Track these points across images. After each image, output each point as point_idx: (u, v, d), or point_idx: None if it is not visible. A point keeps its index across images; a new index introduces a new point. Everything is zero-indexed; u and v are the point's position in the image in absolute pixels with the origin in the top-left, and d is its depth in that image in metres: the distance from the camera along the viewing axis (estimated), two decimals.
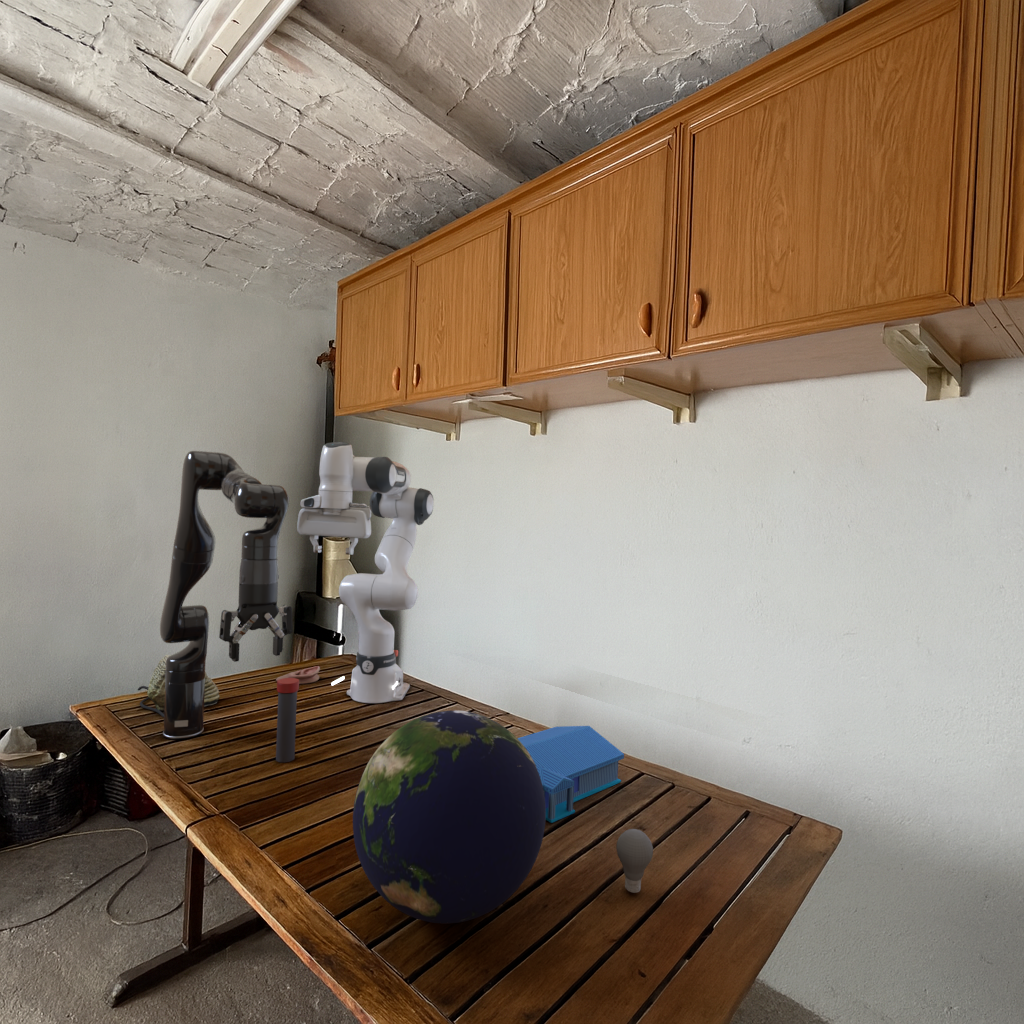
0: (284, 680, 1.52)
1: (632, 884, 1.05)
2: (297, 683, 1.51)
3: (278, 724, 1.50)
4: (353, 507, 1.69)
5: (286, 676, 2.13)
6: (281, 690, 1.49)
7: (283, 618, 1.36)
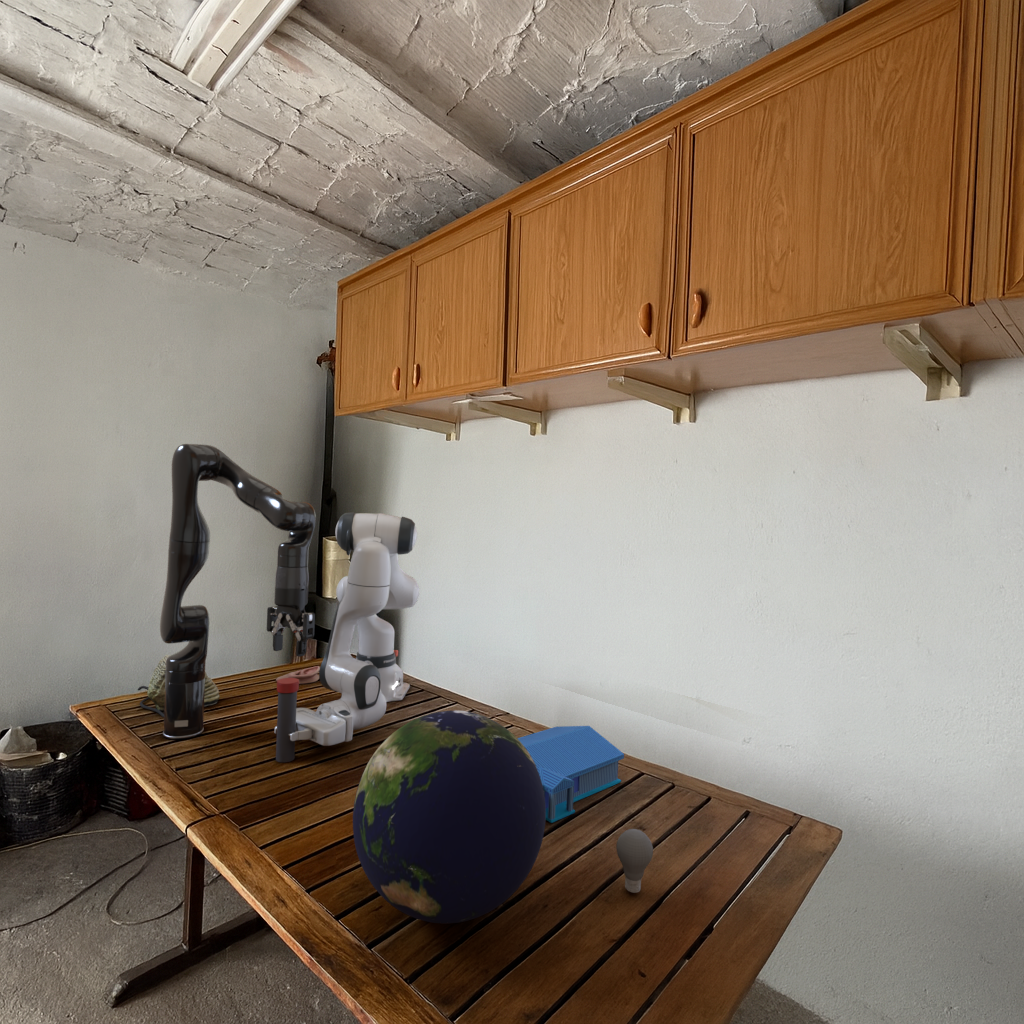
0: (284, 680, 1.52)
1: (632, 884, 1.05)
2: (297, 683, 1.51)
3: (278, 724, 1.50)
4: None
5: (286, 676, 2.13)
6: (281, 690, 1.49)
7: (272, 618, 1.54)
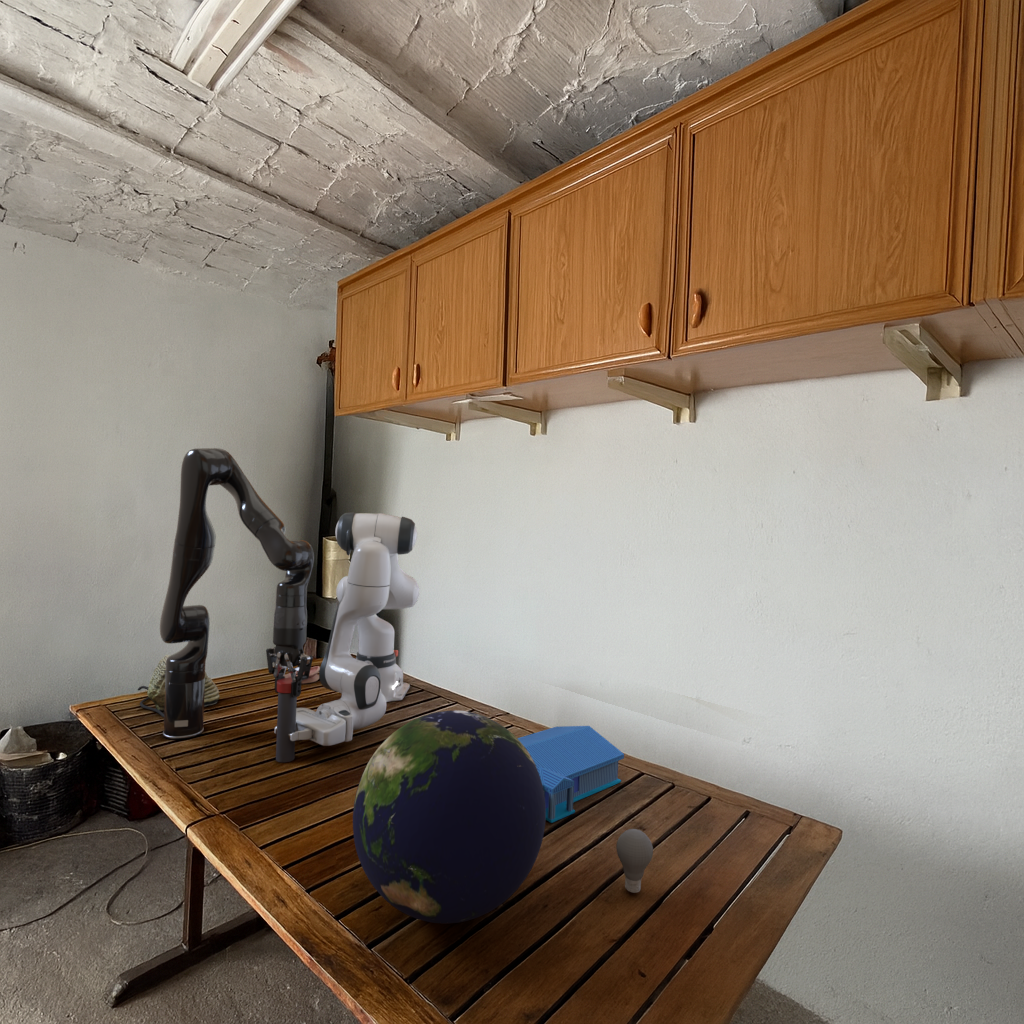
0: (284, 680, 1.52)
1: (632, 884, 1.05)
2: None
3: (278, 724, 1.50)
4: None
5: (286, 676, 2.13)
6: (281, 690, 1.49)
7: (273, 659, 1.54)
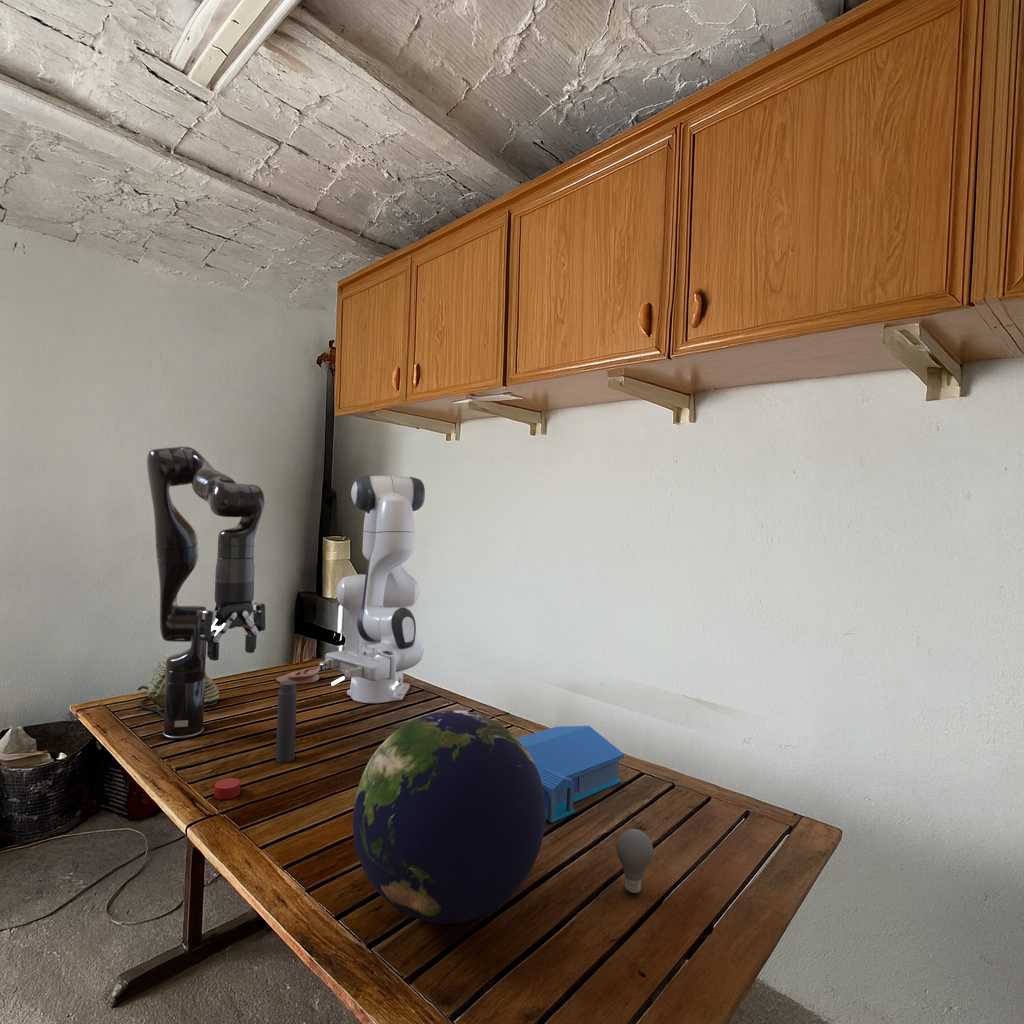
0: (231, 783, 1.33)
1: (632, 884, 1.05)
2: None
3: (278, 724, 1.50)
4: None
5: (286, 676, 2.13)
6: None
7: None
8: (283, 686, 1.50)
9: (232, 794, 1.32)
